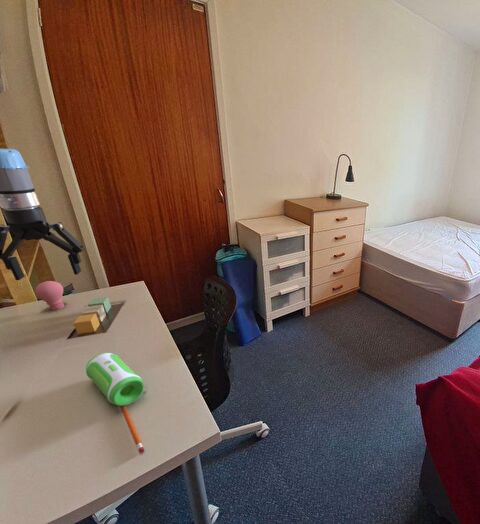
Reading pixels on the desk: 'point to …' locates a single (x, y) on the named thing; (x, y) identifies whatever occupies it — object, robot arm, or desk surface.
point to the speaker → (114, 379)
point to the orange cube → (86, 323)
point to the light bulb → (51, 294)
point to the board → (104, 324)
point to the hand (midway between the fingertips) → (50, 275)
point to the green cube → (101, 303)
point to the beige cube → (95, 312)
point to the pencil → (132, 429)
